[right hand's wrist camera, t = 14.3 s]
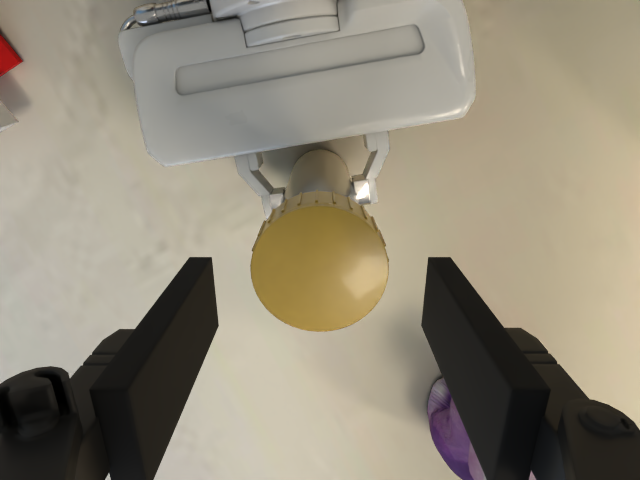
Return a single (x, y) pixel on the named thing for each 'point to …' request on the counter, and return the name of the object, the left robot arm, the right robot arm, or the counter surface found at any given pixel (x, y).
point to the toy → (3, 60)
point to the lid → (319, 262)
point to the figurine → (452, 435)
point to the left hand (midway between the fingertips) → (322, 209)
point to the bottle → (320, 175)
